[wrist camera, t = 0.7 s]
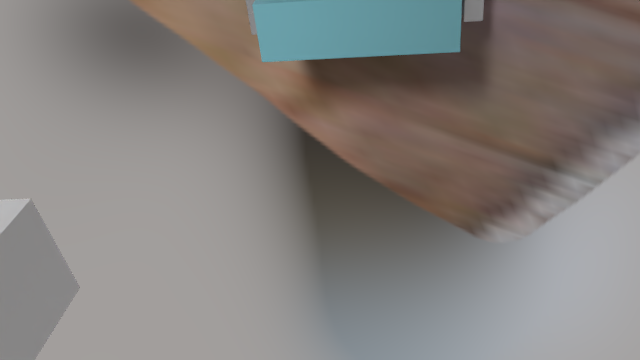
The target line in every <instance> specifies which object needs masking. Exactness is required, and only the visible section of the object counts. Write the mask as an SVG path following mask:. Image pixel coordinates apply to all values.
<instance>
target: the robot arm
mask: <svg viewBox="0 0 640 360" xmlns="http://www.w3.org/2000/svg"><path fill="white" fill-rule="evenodd" d="M79 288H80V287H79V285H78V283H77V281H76V279H75V277H74V276H73V274H72V272H71V270H70V268H69V267H68V265H67V263H66V261H65V259H64V257H63V256H62V254H61V252H60V250H59V248H58V247H57V245H56V243H55V241H54V239H53V238H52V236H51V234H50V232H49V230H48V228H47V227H46V225H45V223H44V221H43V219H42V218H41V216H40V214H39V212H38V210H37V209H36V207H35V205H34V203H33V201H32V200H31V199H11V200H0V360H35V359H36V357H37V355H38V354H39V352H40V351H41V349H42V347H43V346H44V344H45V343H46V341H47V339H48V337H49V336H50V335H51V333H52V331H53V330H54V328H55V327H56V325H57V324H58V322H59V320H60V319H61V317H62V316H63V313H64V312H65V311H66V309H67V307H68V306H69V304H70V303H71V301H72V300H73V298H74V296H75V295H76V293H77V292H78V290H79Z"/></svg>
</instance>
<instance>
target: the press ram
mask: <svg viewBox="0 0 640 360" xmlns="http://www.w3.org/2000/svg"><path fill="white" fill-rule="evenodd" d="M252 6H253V12H254V18H255V23H256V29H257V35H258V40H259V46H260V52H261V57H262V62H273V61H293V60H312V59H332V58H351V57H371V56H391V55H410V54H430V53H449V52H460V40H461V11H462V0H255V1H254V3H253V4H252Z"/></svg>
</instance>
